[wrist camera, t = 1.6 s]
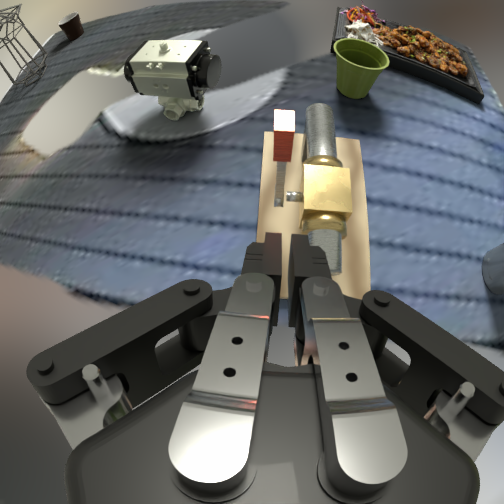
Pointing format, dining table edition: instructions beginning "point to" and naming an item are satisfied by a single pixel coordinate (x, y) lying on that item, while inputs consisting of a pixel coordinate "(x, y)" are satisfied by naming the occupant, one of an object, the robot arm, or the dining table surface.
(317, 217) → the valve body
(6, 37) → the geometric lantern
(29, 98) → the dining table surface
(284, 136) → the valve lever
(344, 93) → the plant pot
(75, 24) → the coffee mug
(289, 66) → the dining table surface
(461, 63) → the food platter
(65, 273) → the dining table surface
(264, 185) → the mounting board
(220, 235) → the dining table surface
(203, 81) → the ball valve
